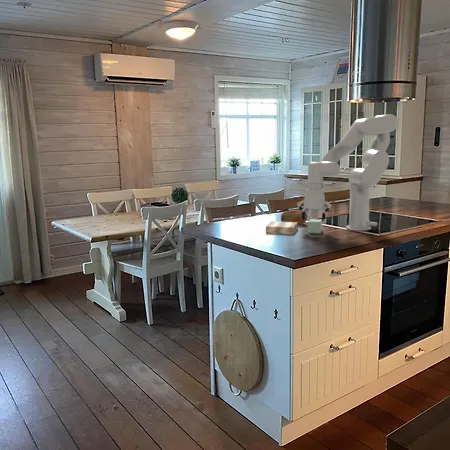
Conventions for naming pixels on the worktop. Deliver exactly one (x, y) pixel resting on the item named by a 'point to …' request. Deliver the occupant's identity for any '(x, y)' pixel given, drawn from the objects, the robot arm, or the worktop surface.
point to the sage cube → (314, 226)
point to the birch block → (282, 227)
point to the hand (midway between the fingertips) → (313, 220)
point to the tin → (293, 216)
